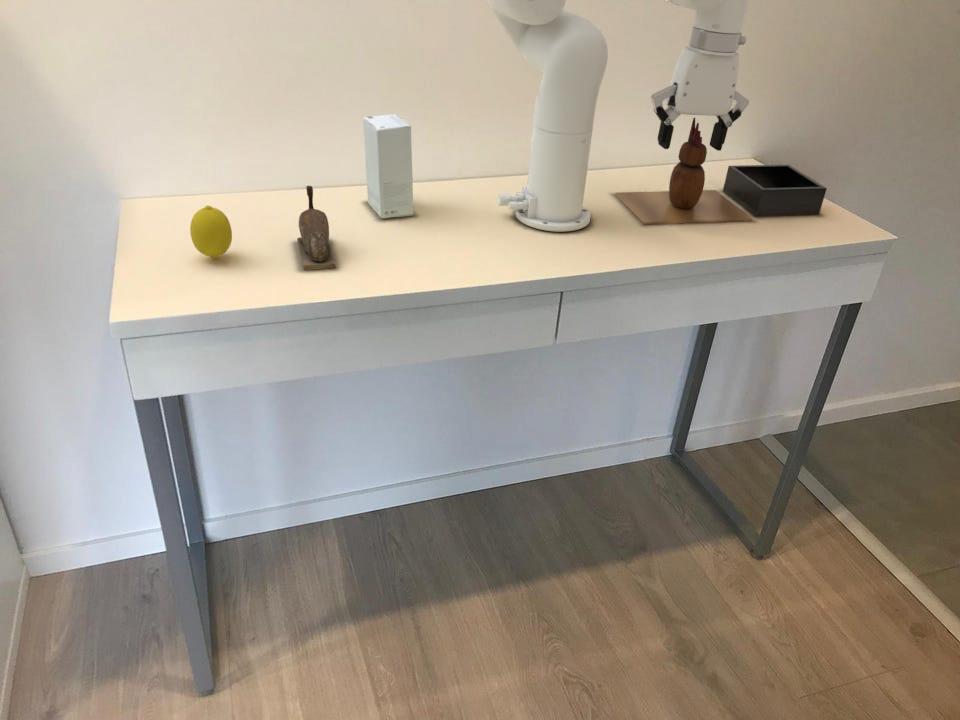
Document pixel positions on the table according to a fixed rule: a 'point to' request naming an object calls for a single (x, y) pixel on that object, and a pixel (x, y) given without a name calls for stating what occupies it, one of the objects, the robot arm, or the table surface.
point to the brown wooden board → (664, 212)
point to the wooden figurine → (688, 172)
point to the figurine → (314, 238)
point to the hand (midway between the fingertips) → (689, 147)
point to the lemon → (211, 232)
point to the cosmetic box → (389, 165)
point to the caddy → (774, 190)
